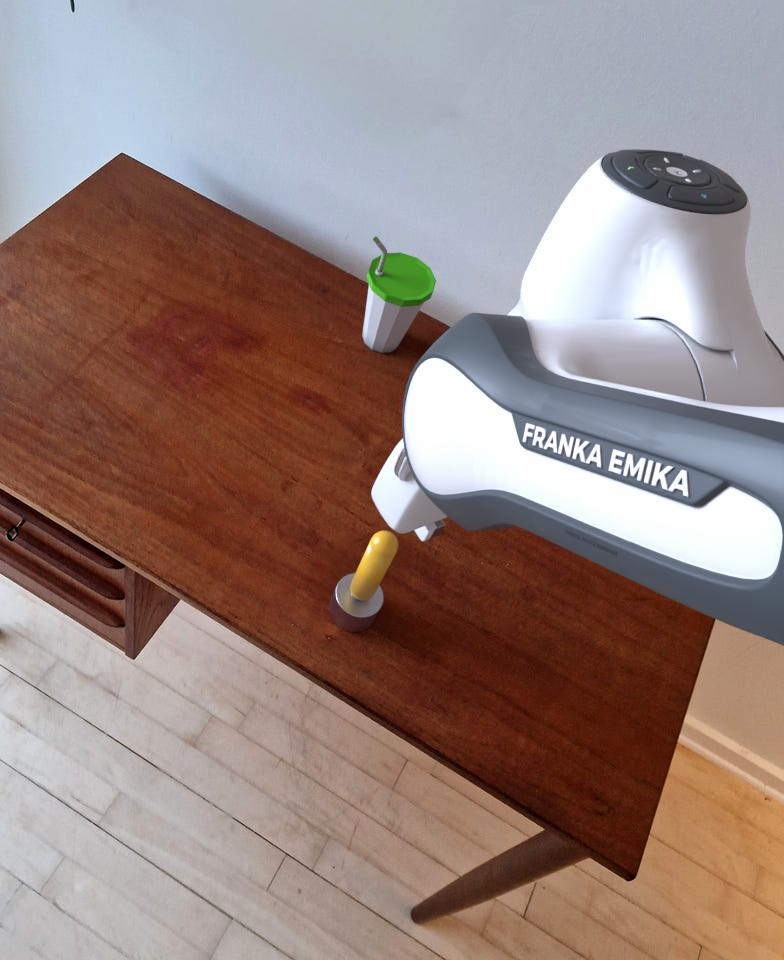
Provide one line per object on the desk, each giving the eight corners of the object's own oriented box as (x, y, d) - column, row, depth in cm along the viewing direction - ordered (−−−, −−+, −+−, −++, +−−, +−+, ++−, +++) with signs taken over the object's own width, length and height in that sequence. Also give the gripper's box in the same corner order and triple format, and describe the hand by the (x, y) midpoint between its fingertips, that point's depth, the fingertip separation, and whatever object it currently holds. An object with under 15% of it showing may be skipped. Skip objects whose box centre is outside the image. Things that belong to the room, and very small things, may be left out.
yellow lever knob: (384, 610, 82) (425, 538, 71) (355, 641, 80) (393, 572, 68) (348, 580, 83) (382, 504, 72) (319, 610, 81) (349, 537, 69)
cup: (422, 337, 104) (461, 242, 92) (391, 373, 100) (427, 279, 88) (369, 306, 106) (400, 209, 93) (337, 340, 101) (364, 243, 89)
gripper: (437, 479, 47) (380, 593, 58) (693, 386, 55) (600, 502, 66) (381, 397, 50) (337, 521, 61) (632, 320, 58) (552, 443, 69)
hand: (475, 511), depth 64 cm, fingers open, 8 cm apart
